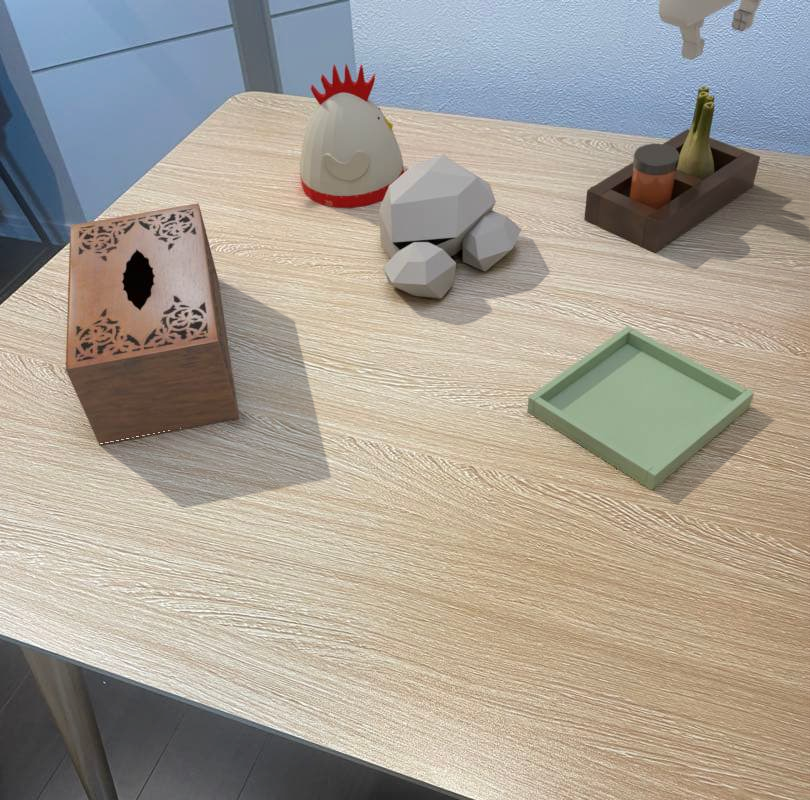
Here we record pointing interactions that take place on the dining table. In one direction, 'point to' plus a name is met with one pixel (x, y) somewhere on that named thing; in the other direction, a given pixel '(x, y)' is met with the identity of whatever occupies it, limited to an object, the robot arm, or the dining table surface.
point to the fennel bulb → (699, 139)
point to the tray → (640, 405)
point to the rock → (440, 226)
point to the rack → (687, 202)
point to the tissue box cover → (147, 325)
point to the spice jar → (654, 174)
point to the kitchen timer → (348, 146)
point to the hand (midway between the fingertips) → (716, 42)
